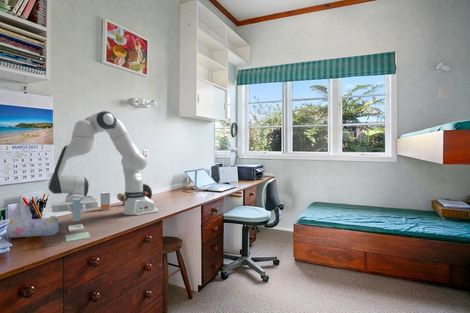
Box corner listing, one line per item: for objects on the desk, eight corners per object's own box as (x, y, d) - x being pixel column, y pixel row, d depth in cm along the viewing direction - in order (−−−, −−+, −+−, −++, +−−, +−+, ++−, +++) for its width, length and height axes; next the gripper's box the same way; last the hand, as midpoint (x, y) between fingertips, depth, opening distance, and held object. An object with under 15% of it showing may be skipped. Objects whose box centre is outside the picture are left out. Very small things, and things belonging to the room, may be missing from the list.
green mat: (88, 233, 144) (88, 231, 144) (90, 238, 135) (90, 237, 135) (65, 236, 138) (65, 235, 138) (65, 242, 130) (65, 241, 130)
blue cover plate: (79, 218, 139) (79, 198, 139) (80, 220, 135) (80, 199, 135) (72, 219, 137) (72, 198, 137) (73, 221, 134) (73, 200, 133)
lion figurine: (117, 206, 207) (117, 194, 206) (117, 204, 211) (117, 192, 211) (138, 204, 212) (138, 192, 212) (137, 203, 217) (137, 191, 217)
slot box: (82, 226, 155) (82, 224, 155) (83, 230, 148) (83, 227, 147) (68, 228, 151) (68, 225, 151) (69, 232, 144) (68, 229, 144)
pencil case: (61, 232, 145) (60, 214, 145) (54, 237, 137) (54, 218, 137) (14, 235, 140) (13, 216, 140) (4, 241, 132) (3, 221, 132)
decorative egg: (146, 201, 224) (146, 182, 223) (155, 203, 215) (154, 184, 215) (132, 203, 215) (131, 184, 214) (140, 206, 206) (139, 185, 206)
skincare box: (100, 210, 193) (100, 193, 193) (100, 209, 197) (100, 192, 197) (110, 209, 196) (109, 192, 195) (110, 208, 200) (109, 191, 199)
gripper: (51, 199, 141) (50, 204, 130) (96, 195, 152) (99, 200, 140) (51, 211, 142) (50, 218, 130) (96, 207, 152) (99, 212, 141)
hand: (76, 208), depth 135 cm, fingers closed on blue cover plate, 3 cm apart
